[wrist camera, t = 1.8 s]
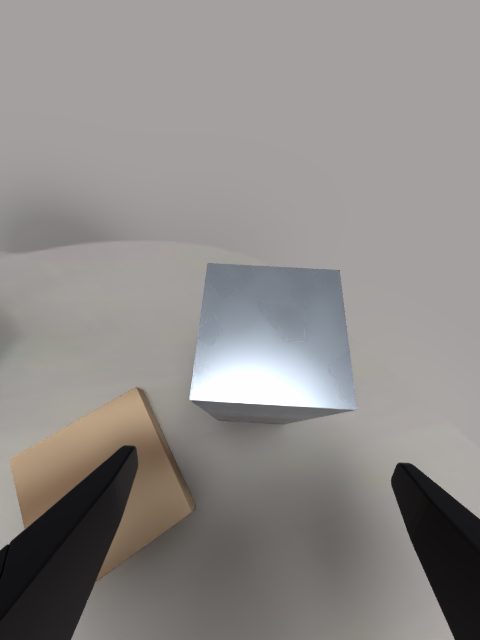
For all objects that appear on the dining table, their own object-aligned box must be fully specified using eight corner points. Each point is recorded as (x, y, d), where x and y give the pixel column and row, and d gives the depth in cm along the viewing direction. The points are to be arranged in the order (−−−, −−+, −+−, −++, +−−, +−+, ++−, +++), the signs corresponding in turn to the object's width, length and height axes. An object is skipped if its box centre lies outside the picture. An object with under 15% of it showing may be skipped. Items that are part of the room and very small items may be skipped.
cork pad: (195, 505, 17) (191, 512, 16) (61, 602, 15) (44, 618, 14) (143, 390, 20) (136, 387, 19) (26, 457, 18) (9, 459, 17)
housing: (283, 424, 19) (357, 409, 8) (218, 420, 19) (189, 399, 8) (282, 360, 21) (339, 270, 10) (223, 357, 22) (207, 263, 10)
